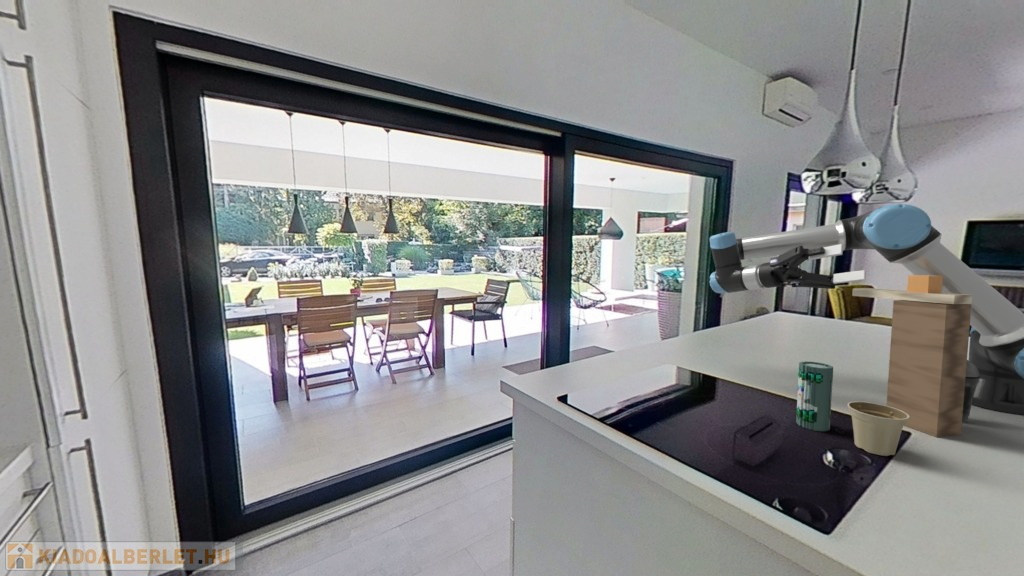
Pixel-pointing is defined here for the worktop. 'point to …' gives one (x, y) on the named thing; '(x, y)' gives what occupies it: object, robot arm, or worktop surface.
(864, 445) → the flower pot
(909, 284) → the cube
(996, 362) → the robot arm
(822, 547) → the worktop surface
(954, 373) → the stand
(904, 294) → the slat
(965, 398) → the beverage cup
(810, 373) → the can
